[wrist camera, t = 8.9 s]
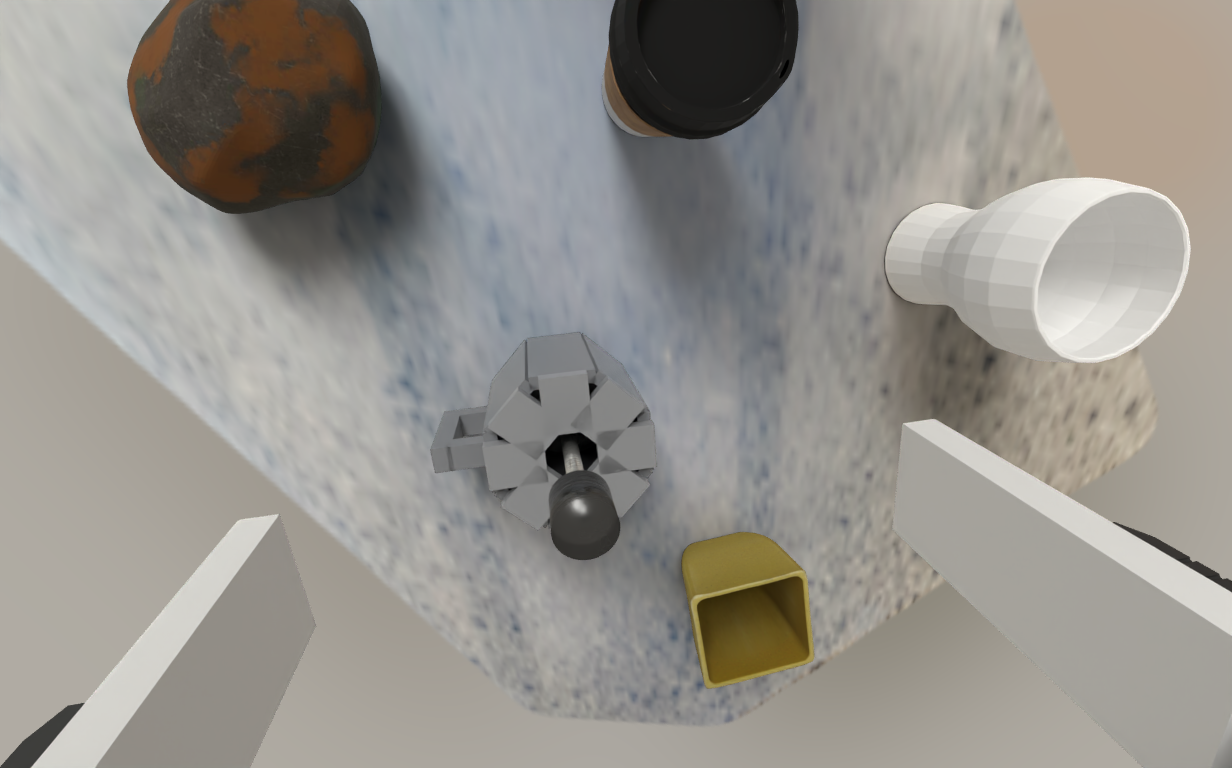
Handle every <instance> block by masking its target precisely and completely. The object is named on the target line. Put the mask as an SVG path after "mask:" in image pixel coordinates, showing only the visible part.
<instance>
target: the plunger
mask: <svg viewBox="0 0 1232 768" xmlns="http://www.w3.org/2000/svg"><path fill="white" fill-rule="evenodd" d="M588 385H589V395H591V393H592V392H593V391H594V390H595V389H596V387H597V385H595V384H594V383H588ZM530 395H531V396H533V397H534V398H535V399H537V400H538V401H539V402H541V399H540V391H539V390H533V392H532V393H531V394H530ZM591 441H592V440H591V439H589V438H588V437H586V436H585V435H584V434H582V433H581V432H577V433H570V434H562V435H558V436H557V437H556V439H555V440H554V441H553V442H552V443H551V444H550V446H549V447H548V448H547V449H548V450H551V451H557V452H563V457H564V463H565V470H566V474H565V475H563V476H561V477H560V478H559V479H558V480H557V481H556V482H555V483H554V485H553V486H552V488H551V490H550V493H549V512H550V524H551V536H552V540H553V543H554V544H555V546H556V548H557V549H558V550H559V551H560V552H561V553H562V554H564V555H566V556H567V557H570V558H573V559H577V560H589V559H594V558H597V557H599V556H601V555H603V554H605V553H606V552H607V551H609V550H610V549H611V548H612V547H613V545H614V544H615V543H616V541H617V539H618V536H619V533H620V522H619V518H618V515H617V511H616V508H615V505H614V501H613V498H612V495H611V491H610V488H609V486H608V484H607V482H606V481H605V480H604V479H603V478H602V477H601V476H600V475H598V474H596V473H594V472H591V471H587V470H584V469H583V465H582V460H581V456H580V451H579V448H581V447H583V446H585V445H587V444H588V443H590V442H591Z"/></svg>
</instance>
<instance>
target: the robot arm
mask: <svg viewBox="0 0 1232 768" xmlns="http://www.w3.org/2000/svg"><path fill="white" fill-rule="evenodd" d="M892 529H893V530H894V531H895V532H896V533H897V534H898V535H899V536H900V537H901V538H902V539H903V540H904V541H905V542H906V543H907V544H908V545H909V546H910V547H912V548H913V549H914V550H915V551H916V552H917V553H918V554H919V555H920V556H921V557H922V558H923V559H924V560H925V561H926V562H927V563H928V564H929V565H930V566H931V567H933V568H934V569H935V570H936V571H937V572H938V573H939V574H940V575H941V576H942V577H943V578H944V579H945V580H946V581H947V582H948V583H949V584H950V585H951V586H953V587H954V588H955V589H956V590H957V591H958V592H959V593H960V594H961V595H962V596H963V597H964V598H965V599H966V600H967V601H968V602H969V603H970V604H972V605H973V606H974V607H975V608H976V609H977V610H978V611H979V612H980V613H981V614H982V615H983V616H984V617H985V618H986V619H987V620H988V621H989V622H991V623H992V624H993V625H994V626H995V627H996V628H997V629H998V630H999V631H1000V632H1001V633H1002V634H1003V635H1004V636H1005V637H1006V638H1007V639H1008V640H1009V641H1011V643H1013V644H1014V645H1015V646H1016V647H1017V648H1018V649H1019V650H1020V651H1021V652H1022V653H1023V654H1024V655H1025V656H1026V657H1027V658H1028V659H1029V660H1031V662H1033V663H1034V664H1035V665H1036V666H1037V667H1038V668H1039V669H1040V670H1041V671H1042V672H1043V673H1044V674H1045V675H1046V676H1047V677H1048V678H1049V679H1050V680H1051V681H1053V682H1054V683H1055V684H1056V685H1057V686H1058V687H1059V688H1060V689H1061V690H1062V691H1063V692H1064V693H1065V694H1066V695H1067V696H1068V697H1069V698H1070V699H1071V700H1073V701H1074V702H1075V703H1076V704H1077V705H1078V706H1079V707H1080V708H1081V709H1082V710H1083V711H1084V712H1085V713H1086V714H1087V715H1088V716H1089V717H1091V718H1092V719H1093V720H1094V721H1095V722H1096V723H1097V724H1098V725H1099V726H1100V727H1101V728H1102V729H1103V730H1104V731H1105V732H1106V733H1107V734H1108V735H1109V736H1111V737H1112V738H1113V739H1114V740H1115V741H1116V742H1117V743H1118V744H1119V745H1120V746H1121V747H1122V748H1123V749H1124V750H1125V751H1126V752H1127V753H1128V754H1129V755H1130V756H1131V757H1133V758H1134V759H1135V760H1136V761H1137V762H1138V763H1139V764H1140V765H1141V766H1142V767H1143V768H1232V581H1231V580H1229V579H1222V578H1220V576H1219V574H1218V573H1217V572H1215V571H1213V570H1211V569H1210V568H1208V567H1206V566H1204V565H1203V564H1201V563H1199V562H1197V561H1195V562H1192V561H1191V560H1190V557H1189V556H1187V555H1185V554H1183V553H1182V552H1180V551H1178V550H1176V549H1174V548H1173V547H1171V546H1169V545H1167V544H1166V543H1164V542H1162V541H1160V540H1159V539H1157V538H1155V537H1153V536H1150V535H1147V534H1145V533H1142V532H1139V531H1137V530H1134V529H1131V528H1129V527H1126V526H1123V525H1120V524H1118V523H1115V522H1110V521H1109V520H1107V519H1105V518H1103V517H1102V516H1100V515H1098V514H1097V513H1095V512H1093V511H1092V510H1090V509H1088V508H1086V507H1085V506H1083V505H1081V504H1079V503H1078V502H1076V501H1074V500H1073V499H1071V498H1069V497H1068V496H1066V495H1064V494H1062V493H1061V492H1059V491H1057V490H1056V489H1054V488H1052V487H1050V486H1049V485H1047V484H1045V483H1044V482H1042V481H1040V480H1038V479H1037V478H1035V477H1033V476H1032V475H1030V474H1028V473H1026V472H1025V471H1023V470H1021V469H1020V468H1018V467H1016V466H1014V465H1013V464H1011V463H1009V462H1008V461H1006V460H1004V459H1002V458H1001V457H999V456H997V455H996V454H994V453H992V452H990V451H989V450H987V449H985V448H984V447H982V446H980V445H978V444H977V443H975V442H973V441H972V440H970V439H968V438H966V437H965V436H963V435H961V434H960V433H958V432H956V431H954V430H953V429H951V428H949V427H948V426H946V425H944V424H942V423H941V422H939V421H937V420H936V419H930V420H923V421H916V422H909V423H902V434H901V444H900V455H899V465H898V475H897V486H896V496H895V506H894V517H893V527H892ZM315 627H316V623H315V620H314V617H313V614H312V611H311V608H310V605H309V602H308V599H307V596H306V593H305V590H304V587H303V584H302V580H301V577H300V574H299V571H298V568H297V565H296V562H295V559H294V556H293V553H292V550H291V547H290V544H289V541H288V538H287V535H286V532H285V529H284V526H283V523H282V520H281V516H280V514H276V515H269V516H262V517H255V518H249V519H242V520H238V521H237V522H236V523H235V525H234V526H233V527H232V528H231V529H230V531H229V532H228V533H227V534H226V535H225V536H224V538H223V539H222V540H221V541H220V542H219V544H218V545H217V546H216V547H215V549H214V550H213V551H212V552H211V553H210V554H209V556H208V557H207V558H206V559H205V560H204V562H203V563H202V564H201V565H200V566H199V568H198V569H197V570H196V571H195V572H194V574H193V575H192V576H191V577H190V578H189V579H188V581H187V582H186V583H185V584H184V585H183V587H182V588H181V589H180V590H179V591H178V593H177V594H176V595H175V596H174V597H173V599H172V600H171V601H170V602H169V604H168V605H167V606H166V607H165V608H164V609H163V611H162V612H161V613H160V614H159V615H158V617H157V618H156V619H155V620H154V621H153V623H152V624H151V625H150V626H149V627H148V629H147V630H146V631H145V632H144V633H143V634H142V636H141V637H140V638H139V639H138V641H137V642H136V643H135V644H134V645H133V646H132V648H131V649H130V650H129V651H128V652H127V654H126V655H125V656H124V657H123V658H122V660H121V661H120V662H119V663H118V664H117V666H116V667H115V668H114V669H113V670H112V671H111V673H110V674H109V675H108V676H107V677H106V679H105V680H104V681H103V682H102V683H101V685H100V686H99V687H98V688H97V689H96V691H95V692H94V693H93V694H92V696H91V697H90V698H89V699H88V700H87V701H86V703H81V704H75V705H70V706H67V707H66V708H64V709H63V710H62V711H61V712H59V713H58V714H57V715H56V716H54V717H53V718H52V719H51V720H49V721H48V722H47V723H46V724H44V725H43V726H42V727H40V728H39V729H38V730H37V731H35V732H34V733H33V734H32V735H30V736H29V737H28V738H26V739H25V740H24V741H23V742H22V743H21V744H20V745H19V746H18V747H17V749H16V750H15V751H14V752H13V753H12V754H11V755H10V756H9V758H8V759H7V760H6V761H5V762H4V763H3V764H2V765H1V767H0V768H250V766H251V765H252V762H253V760H254V758H255V756H256V754H257V752H258V750H259V747H260V745H261V743H262V741H263V739H264V737H265V735H266V732H267V730H268V728H269V725H270V724H271V722H272V719H273V717H274V715H275V713H276V711H277V709H278V706H279V704H280V702H281V700H282V698H283V696H284V694H285V691H286V689H287V687H288V685H289V683H290V681H291V678H292V676H293V674H294V672H295V670H296V668H297V666H298V664H299V661H300V659H301V657H302V655H303V653H304V651H305V648H306V646H307V644H308V642H309V640H310V638H311V635H312V633H313V631H314V629H315Z"/></svg>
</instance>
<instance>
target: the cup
mask: <svg viewBox="0 0 1232 768" xmlns="http://www.w3.org/2000/svg"><path fill="white" fill-rule="evenodd" d="M1190 250H1191V249H1190V240H1189V232H1188V227H1187V225H1186V223H1185V221H1184V218H1183V216H1182V214H1181V211H1180V210H1179V209H1178V208H1177V207H1176V206H1175V205H1174V204H1173V203H1172V202H1171V201H1170V200H1169V199H1168V198H1167V197H1166V196H1164V195H1162V194H1160V193H1157V192H1155V191H1153V190H1151V189H1148V188H1144V187H1140V186H1136V185H1132V184H1127V183H1123V182H1119V181H1114V180H1111V179H1101V178H1065V179H1054V180H1050V181H1045V182H1041V183H1037V184H1034V185H1031V186H1028V187H1026V188H1023V189H1020V190H1017V191H1015V192H1012V193H1009V194H1007V195H1005V196H1003V197H1001V198H999V199H998V200H996V201H994V202H992V203H990V204H989V205H987V206H986V207H984V208H983V209H979V210H972V209H968V208H965V207H961V206H957V205H952V204H943V203H934V204H930V205H925V206H922V207H921V208H919V209H917V210H915V211H913V212H911V213H910V214H909V215H908V216H907V217H906V218H905V219H904V220H902V221H901V223H900V224H899V225H898V227H897V228H896V230H895V231H894V232H893V234H892V237H891V239H890V241H889V243H888V246H887V251H886V256H885V270H886V275H887V278H888V281H889V284H890V285H891V287H892V288H893V290H894V291H895V293H896V294H898V295H899V296H900V297H902V298H903V299H904V300H907V301H910V302H913V303H917V304H930V305H948V306H950V307H952V308H954V310H955V311H956V313H957V315H958V316H959V318H960V319H961V321H962V322H963V323H965V324H966V325H967V326H968V327H970V328H971V329H972V330H973V331H974V332H976V333H977V334H978V335H979V336H981V337H982V338H983V339H985V340H986V341H987V342H988V343H990V344H991V345H992V346H993V347H996V348H999V349H1002V350H1005V351H1008V352H1011V353H1014V354H1017V355H1020V356H1023V357H1026V358H1029V359H1032V360H1035V361H1051V362H1071V363H1097V362H1101V361H1105V360H1108V359H1112V358H1116V357H1118V356H1120V355H1122V354H1124V353H1125V352H1127V351H1129V350H1131V349H1133V348H1135V347H1136V346H1137V345H1139V344H1140V343H1141V342H1142V341H1143V340H1145V339H1146V338H1147V337H1148V336H1150V335H1151V334H1152V333H1153V332H1154V331H1155V330H1156V329H1157V327H1158V326H1159V325H1160V324H1161V323H1162V321H1163V320H1164V319H1165V318H1166V317H1167V315H1168V314H1169V312H1170V311H1171V309H1172V307H1173V305H1174V304H1175V302H1176V300H1177V298H1178V297H1179V295H1180V293H1181V290H1182V287H1183V284H1184V281H1185V278H1186V275H1187V272H1188V266H1189V258H1190Z"/></svg>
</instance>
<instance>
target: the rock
mask: <svg viewBox="0 0 1232 768" xmlns="http://www.w3.org/2000/svg"><path fill="white" fill-rule="evenodd" d="M127 88H128V96H129V102H130V107H131V111H132V114H133V117H134V120H135V123H136V126H137V128H138V130H139V133H140V135H141V138H142V140H143V142H144V145H145V147H146V149H147V151H148V153H149V154H150V155H151V157H152V158H153V159H154V161H155V162H156V163H157V164H158V166H159V167H160V168H161V169H162V170H163V171H164V172H166V173H167V174H168V175H169V176H170V177H171V178H172V179H173V180H174V181H175V182H176V183H177V184H178V185H179V186H180V187H182V188H183V189H184V190H186V191H187V192H189V193H190V194H192V195H194V196H195V197H197V198H199V199H200V200H202V201H204V202H205V203H207V204H209V205H210V206H212V207H214V208H216V209H217V210H220V211H222V212H225V213H231V214H241V213H249V212H255V211H260V210H264V209H267V208H270V207H273V206H276V205H280V204H283V203H287V202H291V201H297V200H303V199H310V198H316V197H323V196H329V195H332V194H335V193H336V192H338V191H339V190H340V189H342V188H343V187H345V186H346V185H348V184H349V183H351V182H352V181H354V180H355V179H356V178H357V177H359V176H360V174H361V173H362V172H363V170H364V168H365V166H366V164H367V162H368V160H369V158H370V156H371V154H372V152H373V150H374V147H375V145H376V141H377V137H378V132H379V127H380V121H381V110H382V107H381V87H380V77H379V72H378V67H377V62H376V59H375V55H374V51H373V47H372V43H371V39H370V34H369V30H368V27H367V25H366V22H365V20H364V18H363V16H362V15H361V14H360V12H359V11H358V9H357V8H356V7H355V6H354V5H353V4H352V2H351V1H350V0H170V1H169V3H168V4H167V5H166V6H165V7H164V9H163V10H162V11H161V12H160V14H159V15H158V16H157V17H156V19H155V20H154V21H153V23H152V24H151V25H150V27H149V28H148V29H147V31H146V32H145V34H144V35H143V37H142V39H141V41H140V43H139V45H138V48H137V50H136V53H135V55H134V58H133V61H132V64H131V67H130V69H129V74H128V79H127Z"/></svg>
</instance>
